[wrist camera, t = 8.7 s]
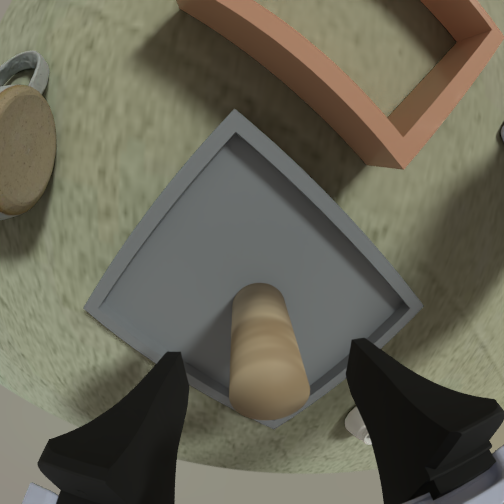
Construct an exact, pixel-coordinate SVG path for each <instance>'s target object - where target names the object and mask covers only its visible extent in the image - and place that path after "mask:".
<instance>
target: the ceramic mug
mask: <svg viewBox="0 0 504 504" xmlns="http://www.w3.org/2000/svg"><path fill="white" fill-rule="evenodd" d="M30 68H33V69H35V68H36V69H35V72H34V74H33V77H32V78H31V80H30V83H29V85H28V86H26V85H7V86H3V85H4V84H5V83H6V82H7V81H8V80H9V79H10V78H11V77H12V76H13V75H14V74H16V73H17V72H19V71H21V70H25V69H30ZM48 78H49V66H48V64H47V62H46V61H45V59H44V58H43V57H42V55H41V54H40V53H38V52H37V51H26V52H22V53H19V54H17V55H15V56H14V57H12V58H10V59H9V60H8V61H6V62H5V63H4V64H2V65H1V66H0V220H5V219H8V218H11V217H15V216H18V215H21V214H23V213H25V212H26V211H28V210H29V209H31V208H32V207H33V206H34V205H35V204H36V203H37V202H38V200H39V199H40V198H41V196H42V195H43V193H44V191H45V189H46V187H47V185H48V182H49V179H50V176H51V174H52V170H53V167H54V160H55V154H56V129H55V123H54V118H53V114H52V112H51V109H50V106H49V105H48V103H47V101H46V100H45V98H44V97H43V96H42V94H43V92H44V90H45V88H46V86H47V82H48Z"/></svg>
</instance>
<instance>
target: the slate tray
mask: <svg viewBox="0 0 504 504" xmlns="http://www.w3.org/2000/svg"><path fill="white" fill-rule="evenodd" d="M253 283H266V284H270V285H272V286H274V287H275V288H277V289H278V290H279V291H280V292H281V293H282V295H283V297H284V300H285V304H286V307H287V310H288V314H289V317H290V320H291V324H292V327H293V331H294V334H295V337H296V341H297V344H298V348H299V351H300V355H301V358H302V362H303V365H304V368H305V372H306V375H307V379H308V382H309V386H310V395H309V398H308V400H307V402H306V403H305V405H304V406H303V407H302V408H301V409H299V410H298V411H297V412H295V413H293V414H291V415H289V416H287V417H284V418H281V419H276V420H255V419H253V420H255V421H257V422H259V423H261V424H263V425H266V426H268V427H270V428H272V429H275V428H277V427H278V426H280V425H282V424H283V423H285V422H286V421H288V420H289V419H291V418H292V417H294V416H295V415H297V414H298V413H300V412H301V411H303V410H304V409H306V408H307V407H308V406H310V405H311V404H313V403H314V402H315V401H317V400H318V399H320V398H321V397H322V396H324V395H325V394H326V393H328V392H329V391H330V390H332V389H333V388H334V387H336V386H337V385H338V384H339V383H341V382H342V381H343V380H344V379H346V369H347V364H348V358H349V352H350V347H351V340H352V339H358V338H366V339H367V340H369V341H370V342H372V343H373V344H374V345H376V346H377V347H378V348H380V349H381V348H382V347H383V346H384V345H385V344H386V343H387V342H388V341H390V340H391V339H392V338H393V337H394V336H395V335H396V334H397V333H398V332H399V331H400V330H401V329H402V328H403V327H404V326H405V325H406V324H407V323H408V322H409V321H410V320H411V319H412V318H413V317H414V316H415V315H416V314H417V313H418V312H419V311H420V310H421V309H422V308H423V307H424V305H423V304H422V303H421V301H420V300H419V299H418V297H417V296H416V295H415V294H414V292H413V291H412V290H411V288H410V287H409V286H408V285H407V283H406V282H405V281H404V280H403V278H402V277H401V276H400V275H399V273H398V272H397V271H396V270H395V269H394V267H393V266H392V265H391V264H390V263H389V261H388V260H387V259H386V258H385V257H384V255H383V254H382V253H381V252H380V251H379V250H378V248H377V247H376V246H375V245H374V244H373V243H372V242H371V240H370V239H369V238H368V237H367V236H366V235H365V234H364V233H363V231H362V230H361V229H360V228H359V227H358V226H357V225H356V224H355V223H354V222H353V220H352V219H351V218H350V217H349V216H348V215H347V214H346V213H345V212H344V211H343V210H342V209H341V208H340V207H339V205H338V204H337V203H336V202H335V201H334V200H333V199H332V198H331V197H330V196H329V195H328V194H327V193H326V192H325V191H324V190H323V189H322V188H321V187H320V186H319V185H318V184H317V183H316V182H315V181H314V180H313V179H312V178H311V177H310V176H309V175H308V174H307V173H306V172H305V171H304V170H303V169H302V168H301V167H300V166H299V165H298V164H296V163H295V162H294V161H293V160H292V159H291V158H290V157H289V156H288V155H287V154H286V153H285V152H284V151H283V150H282V149H280V148H279V147H278V146H277V145H276V144H275V143H274V142H273V141H272V140H271V139H269V138H268V137H267V136H266V135H265V134H264V133H263V132H261V131H260V130H259V129H258V128H257V127H256V126H255V125H253V124H252V123H251V122H250V121H249V120H248V119H246V118H245V117H244V116H243V115H242V114H241V113H239V112H238V111H237V110H236V109H234V110H233V111H232V112H231V113H230V114H229V115H228V116H227V117H226V118H225V119H224V120H223V121H222V122H221V124H220V125H219V126H218V127H217V128H216V129H215V130H214V131H213V132H212V133H211V134H210V136H209V137H208V138H207V139H206V140H205V141H204V142H203V143H202V145H201V146H200V147H199V148H198V149H197V150H196V151H195V153H194V154H193V155H192V156H191V157H190V158H189V160H188V161H187V162H186V163H185V164H184V166H183V167H182V168H181V169H180V170H179V172H178V173H177V174H176V175H175V176H174V178H173V179H172V180H171V181H170V183H169V184H168V185H167V186H166V188H165V189H164V190H163V192H162V193H161V194H160V195H159V197H158V198H157V199H156V201H155V202H154V203H153V204H152V206H151V207H150V208H149V210H148V211H147V212H146V214H145V215H144V217H143V218H142V219H141V221H140V222H139V223H138V225H137V226H136V228H135V229H134V230H133V232H132V233H131V235H130V236H129V237H128V239H127V240H126V242H125V243H124V245H123V246H122V248H121V249H120V250H119V252H118V253H117V255H116V256H115V258H114V259H113V261H112V262H111V264H110V265H109V267H108V269H107V270H106V272H105V273H104V275H103V276H102V278H101V280H100V281H99V283H98V284H97V286H96V288H95V289H94V291H93V292H92V294H91V296H90V297H89V299H88V301H87V303H86V304H85V306H84V308H83V309H85V310H86V311H87V312H88V313H89V314H91V315H92V316H93V317H94V318H95V319H97V320H98V321H99V322H100V323H101V324H103V325H104V326H105V327H107V328H108V329H109V330H110V331H112V332H113V333H114V334H115V335H117V336H118V337H119V338H121V339H122V340H123V341H125V342H126V343H127V344H129V345H130V346H132V347H133V348H134V349H136V350H137V351H138V352H140V353H141V354H143V355H144V356H146V357H147V358H148V359H150V360H151V361H153V362H154V363H156V364H157V362H158V361H159V360H160V359H161V358H162V357H163V355H164V354H165V353H166V352H181V354H182V359H183V363H184V367H185V371H186V375H187V379H188V383H189V385H190V386H192V387H194V388H195V389H197V390H199V391H200V392H202V393H204V394H206V395H207V396H209V397H211V398H213V399H215V400H216V401H218V402H220V403H222V404H224V405H226V406H227V407H229V408H231V409H233V410H235V409H234V408H233V407H232V405H231V403H230V400H229V383H230V353H231V326H232V304H233V300H234V297H235V295H236V294H237V293H238V292H239V291H240V290H241V289H242V288H243V287H245V286H247V285H250V284H253ZM235 411H236V410H235Z"/></svg>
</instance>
